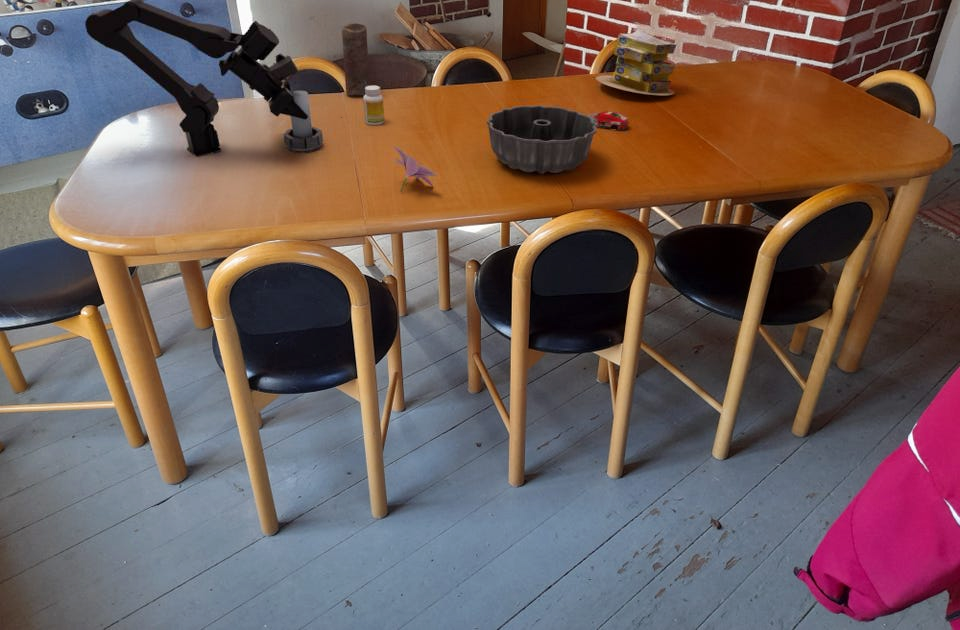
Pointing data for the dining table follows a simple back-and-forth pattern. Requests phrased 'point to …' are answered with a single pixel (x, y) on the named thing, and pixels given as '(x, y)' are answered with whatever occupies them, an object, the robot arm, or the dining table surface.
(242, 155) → the dining table surface
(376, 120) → the supplement bottle
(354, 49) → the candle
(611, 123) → the race car
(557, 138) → the bundt pan
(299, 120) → the peg
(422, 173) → the lily
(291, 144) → the socket collar
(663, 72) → the stacked boxes on plate
